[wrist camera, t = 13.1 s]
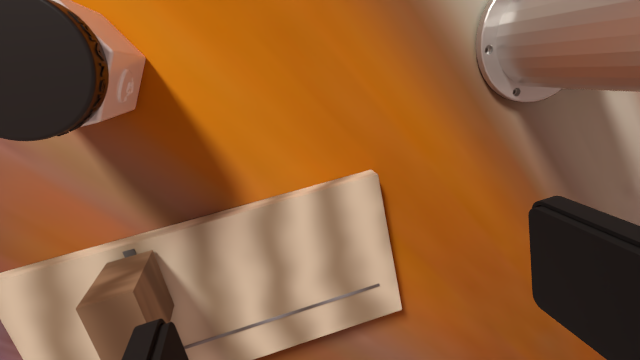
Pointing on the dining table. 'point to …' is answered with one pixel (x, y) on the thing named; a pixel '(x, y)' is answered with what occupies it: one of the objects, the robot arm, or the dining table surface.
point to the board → (230, 276)
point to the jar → (62, 69)
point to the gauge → (124, 302)
